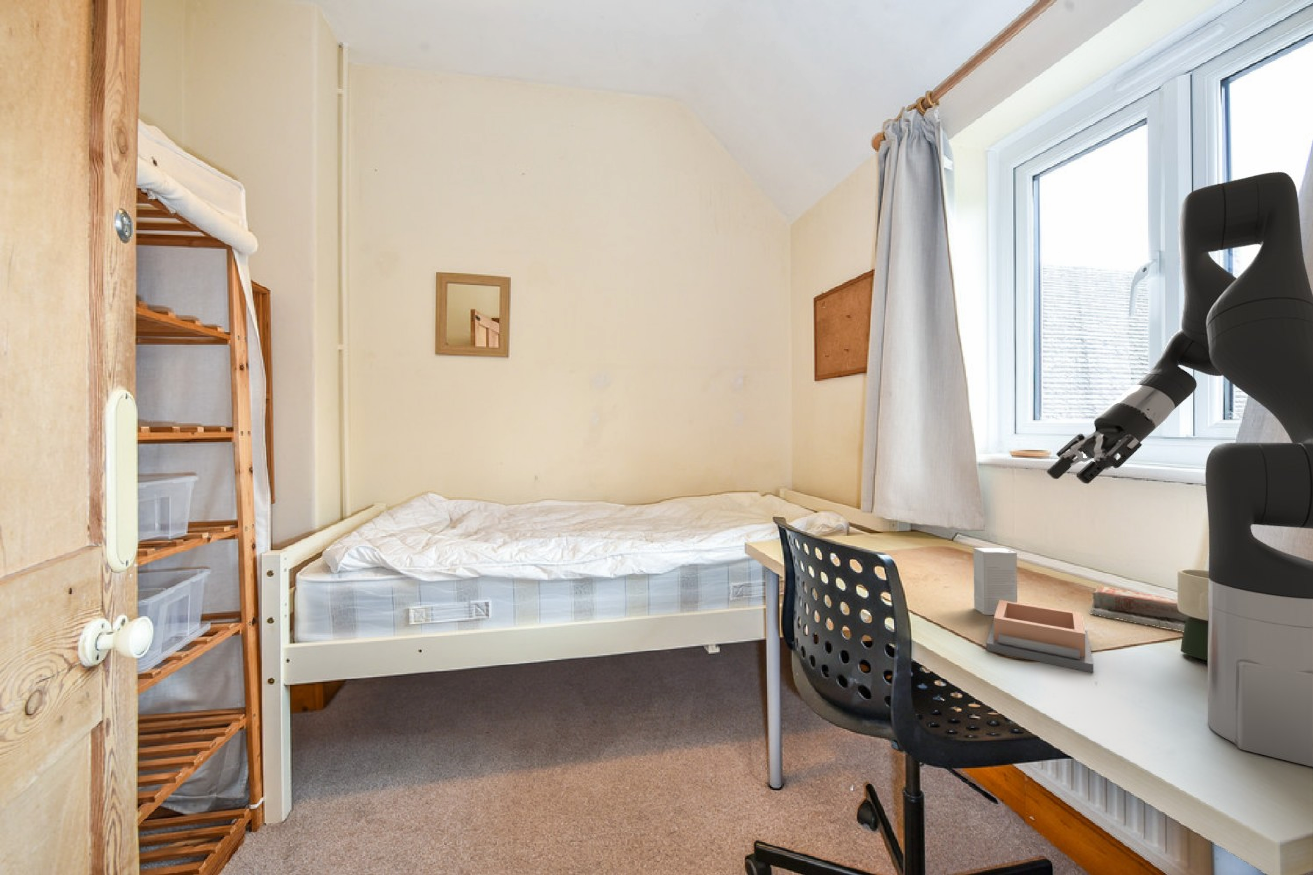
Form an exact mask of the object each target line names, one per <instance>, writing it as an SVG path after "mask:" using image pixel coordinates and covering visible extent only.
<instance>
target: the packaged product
mask: <svg viewBox="0 0 1313 875" xmlns="http://www.w3.org/2000/svg"><path fill="white" fill-rule="evenodd" d="M1092 599H1093V600H1092V605H1091V607H1090V609H1089V614H1090V613H1092V614H1096V615H1101V616H1105V617H1104V618H1106V617H1110V618H1109V619H1111V618H1119V619H1123V620H1127V621H1132V622H1136V623H1141V624H1140V625H1142V624H1147V625H1155V626H1159V627H1166V628H1171V629H1177V630H1181V631H1184V627H1185V622H1186V621H1187V620H1188V618H1189V617H1191V616H1188V615H1186V614H1183V613H1181V612H1179V610H1178V606H1177V598H1170V597H1166V596H1160V595H1153V594H1148V593H1142V592H1137V591H1130V590H1125V589H1124V590H1123V589H1119V588H1114V587H1107V586H1102V585H1101V586H1098V587H1097V588H1096V589H1095V590H1094V592H1092ZM1096 615H1095V616H1096ZM1101 616H1100V617H1101ZM1136 623H1135V624H1136ZM1147 625H1146V626H1147Z"/></svg>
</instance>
